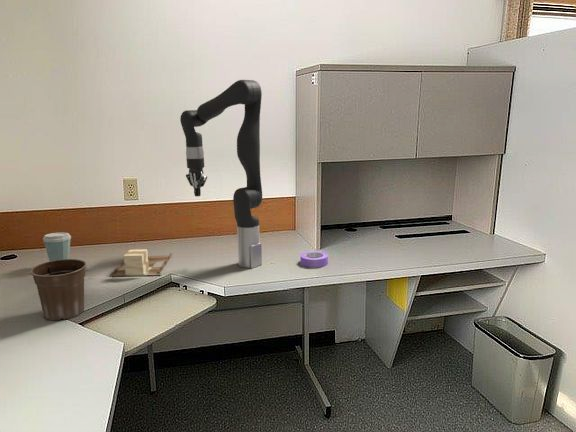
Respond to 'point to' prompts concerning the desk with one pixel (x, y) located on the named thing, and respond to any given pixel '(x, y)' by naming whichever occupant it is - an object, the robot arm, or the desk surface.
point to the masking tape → (314, 259)
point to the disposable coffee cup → (57, 245)
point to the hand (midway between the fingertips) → (197, 196)
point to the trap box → (151, 269)
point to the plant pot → (60, 287)
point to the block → (136, 262)
